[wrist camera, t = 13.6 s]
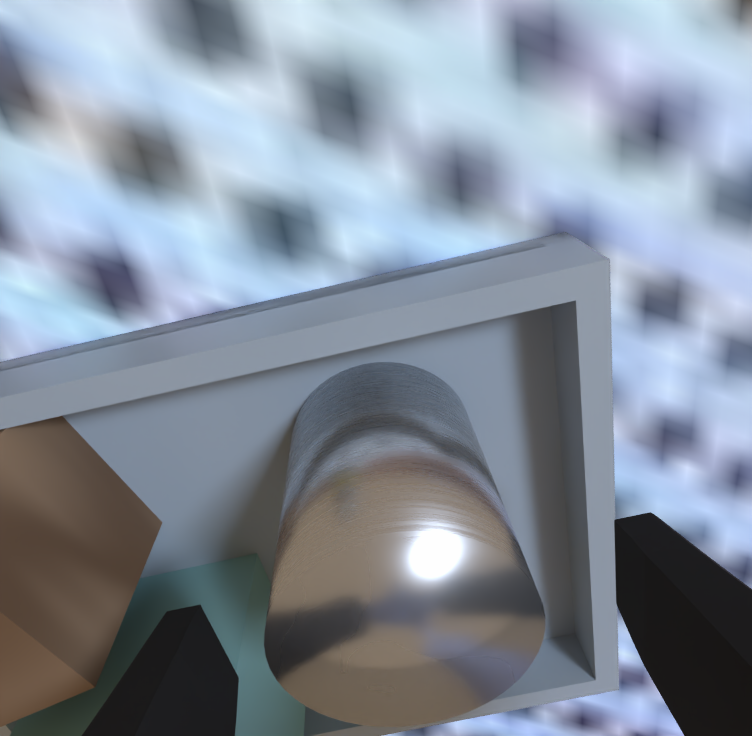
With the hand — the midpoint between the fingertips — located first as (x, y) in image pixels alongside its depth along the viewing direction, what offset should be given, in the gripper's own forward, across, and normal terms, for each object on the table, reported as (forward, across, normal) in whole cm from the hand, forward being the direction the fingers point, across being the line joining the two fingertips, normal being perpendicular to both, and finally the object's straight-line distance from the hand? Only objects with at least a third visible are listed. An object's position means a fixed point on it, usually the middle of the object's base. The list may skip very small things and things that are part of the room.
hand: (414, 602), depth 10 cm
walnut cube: (+3, +8, -2) cm, 9 cm away
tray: (+4, +4, +1) cm, 6 cm away
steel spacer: (+3, 0, -1) cm, 4 cm away
